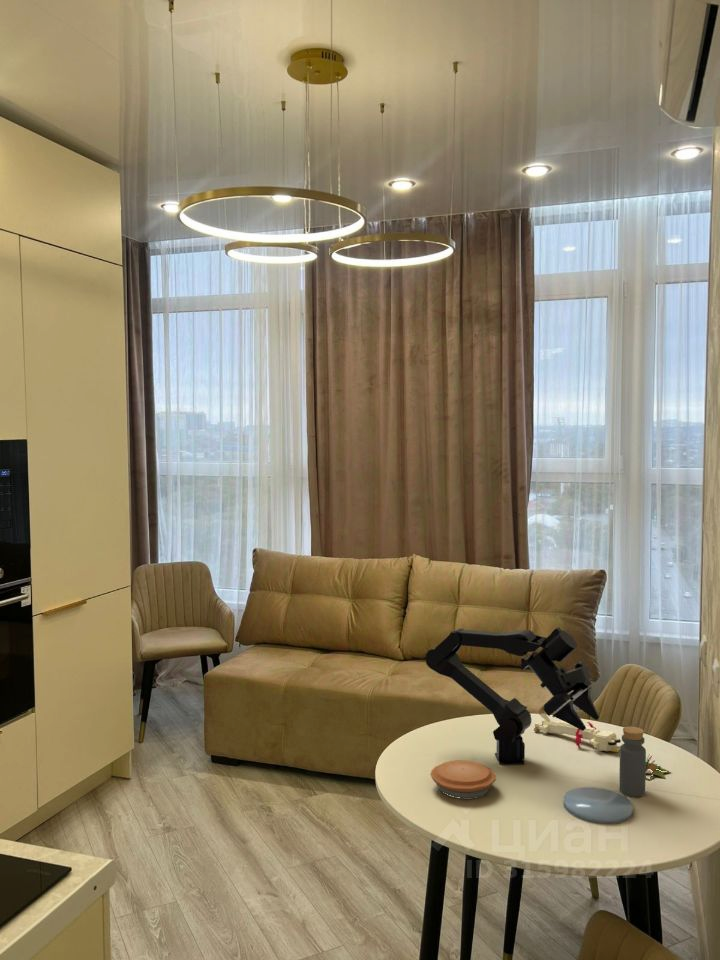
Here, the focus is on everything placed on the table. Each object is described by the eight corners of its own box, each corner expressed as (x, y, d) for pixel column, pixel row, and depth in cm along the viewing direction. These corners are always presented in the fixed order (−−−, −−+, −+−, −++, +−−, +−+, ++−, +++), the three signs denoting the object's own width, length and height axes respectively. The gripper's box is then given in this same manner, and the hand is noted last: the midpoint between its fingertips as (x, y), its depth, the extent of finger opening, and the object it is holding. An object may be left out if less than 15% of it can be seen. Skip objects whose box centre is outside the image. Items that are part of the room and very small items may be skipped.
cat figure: (530, 739, 226) (610, 757, 208) (528, 708, 227) (608, 723, 209) (549, 730, 233) (629, 747, 215) (547, 701, 233) (627, 714, 215)
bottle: (645, 788, 191) (646, 727, 190) (645, 798, 185) (646, 735, 185) (619, 785, 193) (620, 724, 192) (619, 795, 187) (620, 732, 187)
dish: (574, 824, 173) (575, 817, 173) (555, 793, 188) (555, 787, 188) (642, 822, 173) (643, 816, 173) (618, 792, 188) (618, 786, 188)
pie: (450, 770, 201) (450, 751, 201) (506, 786, 192) (506, 765, 192) (418, 792, 189) (418, 772, 189) (477, 810, 180) (477, 788, 180)
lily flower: (681, 775, 199) (681, 757, 199) (650, 786, 193) (650, 768, 193) (640, 759, 210) (641, 742, 209) (610, 769, 203) (610, 752, 203)
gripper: (555, 661, 190) (601, 716, 184) (583, 646, 205) (626, 695, 199) (525, 689, 195) (568, 742, 189) (554, 671, 210) (595, 720, 204)
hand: (591, 724), depth 195 cm, fingers open, 9 cm apart
